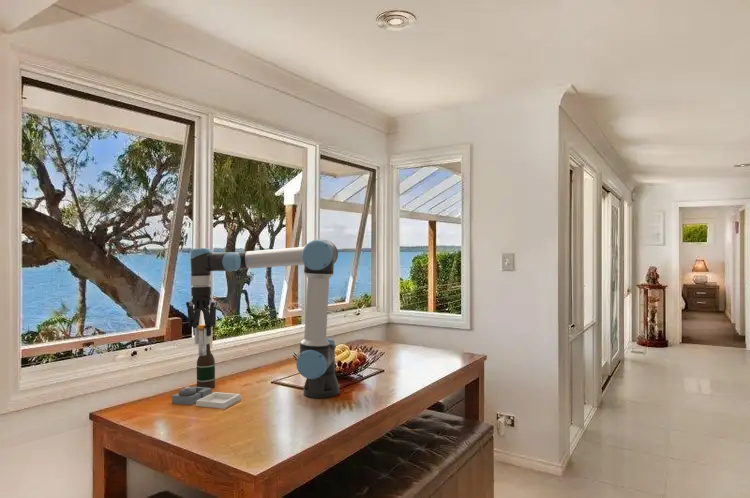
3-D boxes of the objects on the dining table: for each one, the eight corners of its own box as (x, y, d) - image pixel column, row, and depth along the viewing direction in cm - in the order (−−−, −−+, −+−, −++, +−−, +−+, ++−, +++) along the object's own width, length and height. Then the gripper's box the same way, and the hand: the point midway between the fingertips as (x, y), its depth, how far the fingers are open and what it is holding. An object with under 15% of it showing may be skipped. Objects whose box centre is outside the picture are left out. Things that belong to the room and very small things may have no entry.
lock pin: (209, 354, 198) (208, 324, 198) (203, 356, 195) (202, 325, 195) (201, 353, 199) (200, 324, 200) (195, 355, 196) (194, 325, 196)
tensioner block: (193, 396, 203) (193, 380, 203) (211, 397, 201) (211, 381, 201) (172, 405, 191) (171, 388, 191) (191, 407, 188) (191, 390, 188)
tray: (240, 401, 195) (240, 394, 195) (223, 411, 184) (223, 403, 184) (214, 399, 199) (214, 391, 199) (196, 408, 187) (196, 400, 187)
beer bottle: (209, 392, 208) (208, 336, 208) (193, 391, 210) (192, 336, 210) (218, 387, 216) (218, 333, 216) (202, 386, 217) (202, 333, 217)
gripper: (224, 285, 198) (225, 342, 198) (189, 285, 203) (190, 341, 203) (213, 286, 191) (214, 346, 191) (177, 286, 196) (178, 344, 196)
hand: (202, 343), depth 197 cm, fingers closed on lock pin, 4 cm apart
